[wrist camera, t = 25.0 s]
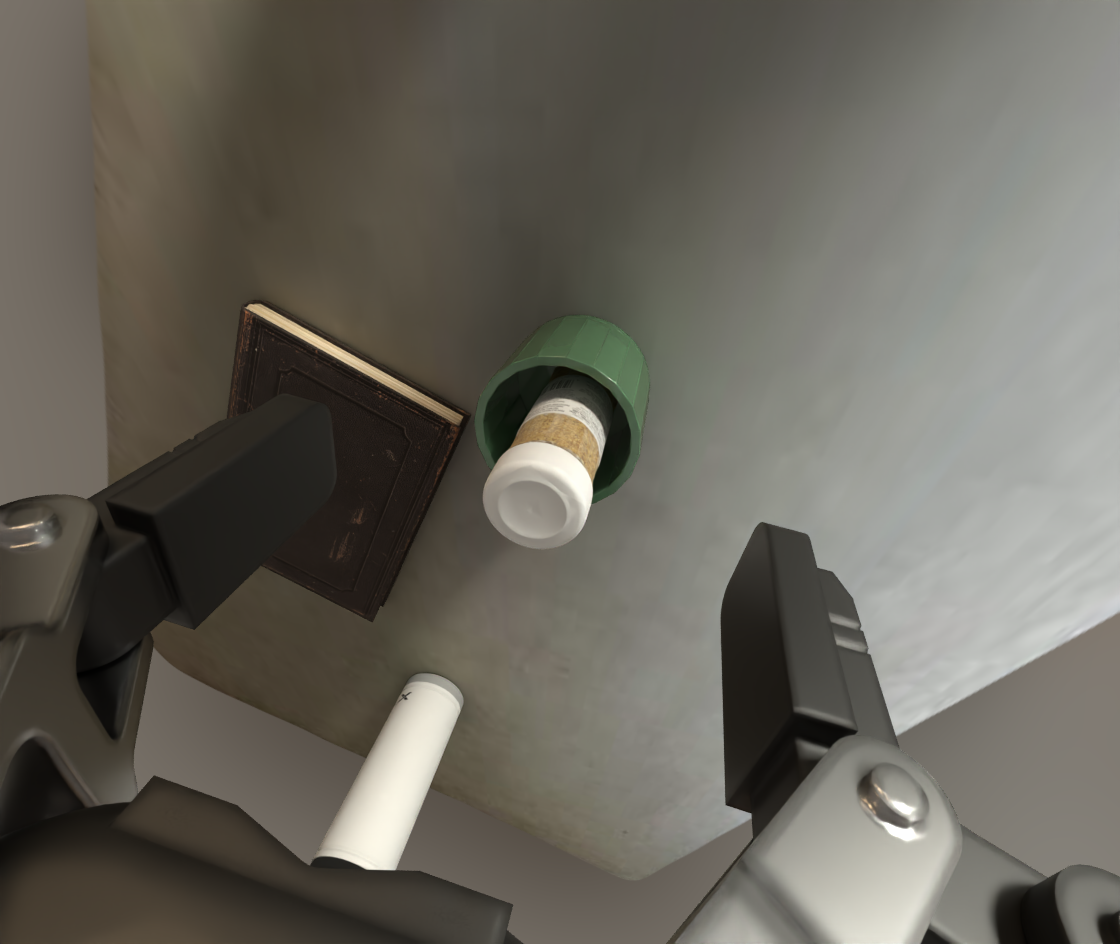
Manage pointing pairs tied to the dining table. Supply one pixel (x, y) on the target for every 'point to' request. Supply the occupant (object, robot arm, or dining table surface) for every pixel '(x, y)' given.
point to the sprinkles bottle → (551, 463)
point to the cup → (586, 351)
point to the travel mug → (393, 779)
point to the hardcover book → (349, 454)
